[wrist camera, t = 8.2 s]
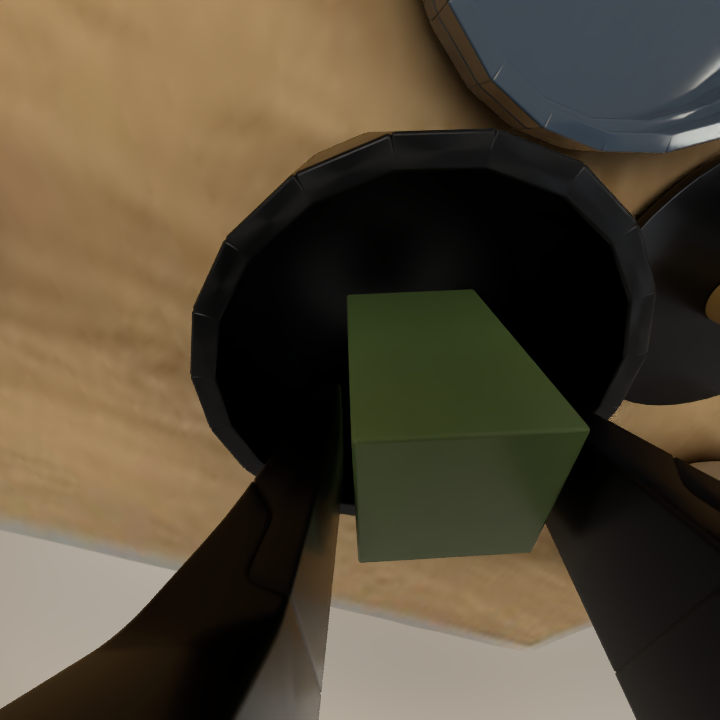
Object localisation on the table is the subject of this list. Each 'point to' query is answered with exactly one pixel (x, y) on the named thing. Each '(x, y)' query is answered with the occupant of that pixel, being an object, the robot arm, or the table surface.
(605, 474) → the robot arm
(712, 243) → the tin lid
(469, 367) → the green block
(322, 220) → the tin
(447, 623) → the table surface
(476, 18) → the blue-grey round rimmed part
